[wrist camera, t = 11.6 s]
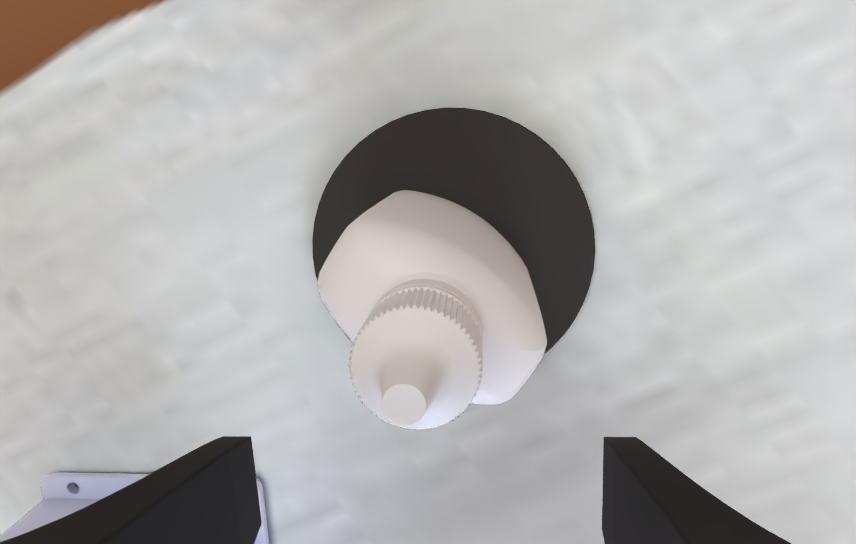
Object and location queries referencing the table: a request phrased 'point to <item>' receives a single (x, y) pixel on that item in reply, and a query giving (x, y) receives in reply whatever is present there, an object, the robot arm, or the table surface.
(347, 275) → the eye dropper bottle
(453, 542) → the table surface
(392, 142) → the coaster
